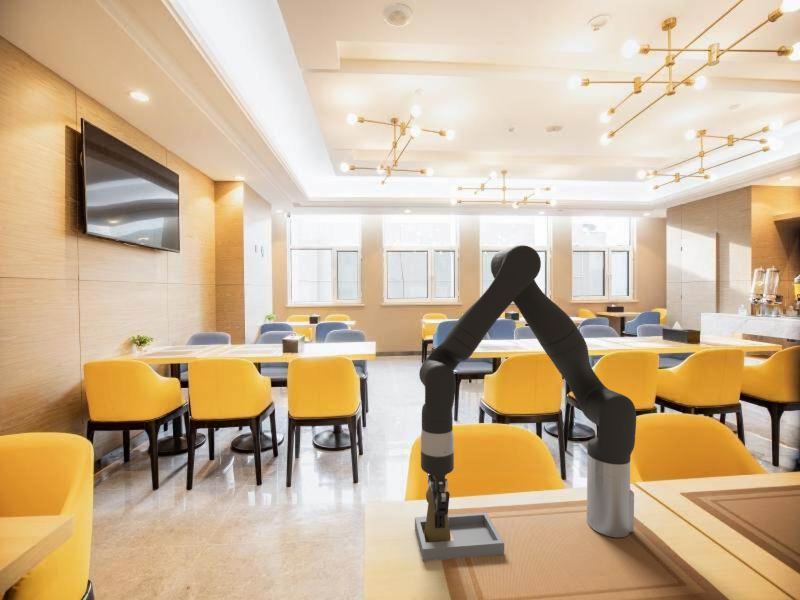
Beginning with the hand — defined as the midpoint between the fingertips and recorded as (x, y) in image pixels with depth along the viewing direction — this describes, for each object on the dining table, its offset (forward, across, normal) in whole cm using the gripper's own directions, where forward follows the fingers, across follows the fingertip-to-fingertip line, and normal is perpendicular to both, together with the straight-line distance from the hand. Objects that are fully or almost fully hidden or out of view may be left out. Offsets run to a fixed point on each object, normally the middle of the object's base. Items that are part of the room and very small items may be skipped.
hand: (437, 521), depth 87 cm
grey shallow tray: (+5, 0, -5) cm, 7 cm away
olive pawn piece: (+3, 0, 0) cm, 3 cm away
